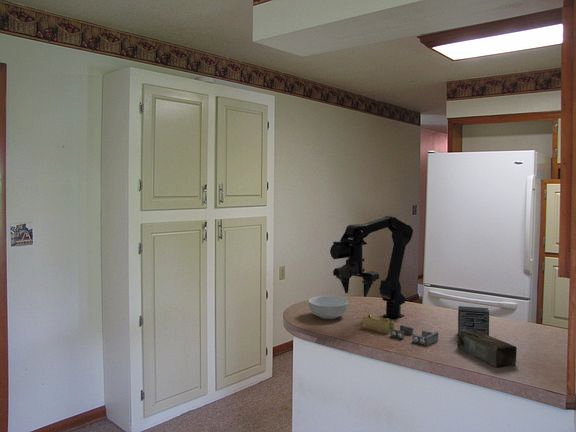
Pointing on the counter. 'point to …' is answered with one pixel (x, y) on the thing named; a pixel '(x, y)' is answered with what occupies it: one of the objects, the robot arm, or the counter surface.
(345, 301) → the cereal bowl
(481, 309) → the small box
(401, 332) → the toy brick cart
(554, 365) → the counter surface
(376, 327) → the brass block with pegs
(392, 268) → the robot arm
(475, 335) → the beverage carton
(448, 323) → the counter surface
